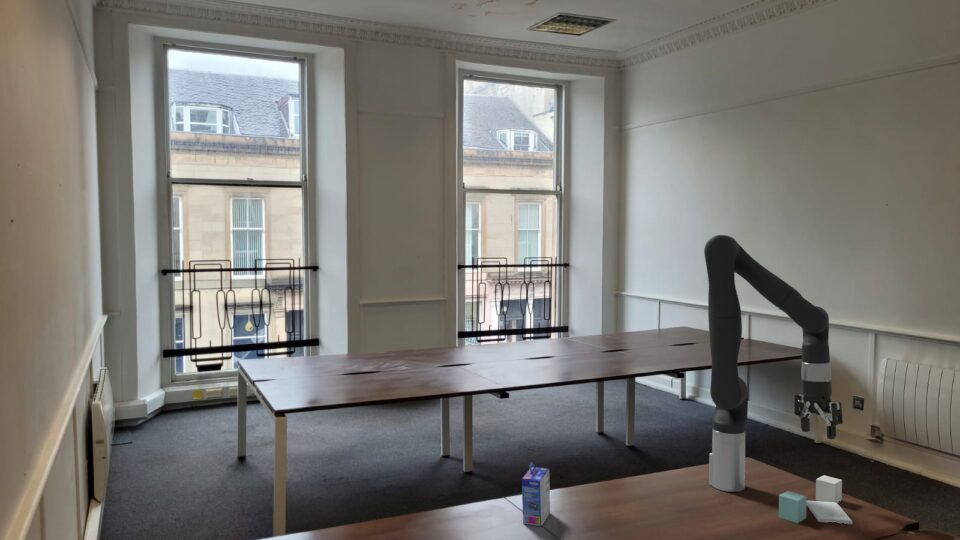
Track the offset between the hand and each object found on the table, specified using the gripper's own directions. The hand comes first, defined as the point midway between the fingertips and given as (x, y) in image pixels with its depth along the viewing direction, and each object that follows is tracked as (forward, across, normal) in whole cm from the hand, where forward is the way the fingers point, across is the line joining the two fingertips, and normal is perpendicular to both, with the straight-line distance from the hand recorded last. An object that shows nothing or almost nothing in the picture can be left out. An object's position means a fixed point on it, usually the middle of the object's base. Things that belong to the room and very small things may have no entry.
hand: (818, 435), depth 190 cm
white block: (+19, 0, +3) cm, 19 cm away
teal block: (+19, +5, -16) cm, 25 cm away
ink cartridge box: (+16, -19, -80) cm, 83 cm away
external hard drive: (+20, +7, -5) cm, 22 cm away
